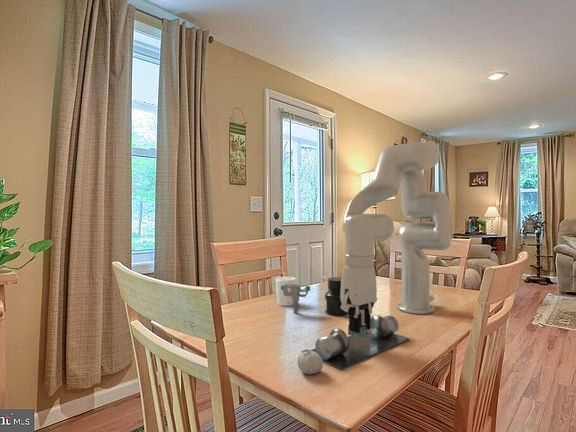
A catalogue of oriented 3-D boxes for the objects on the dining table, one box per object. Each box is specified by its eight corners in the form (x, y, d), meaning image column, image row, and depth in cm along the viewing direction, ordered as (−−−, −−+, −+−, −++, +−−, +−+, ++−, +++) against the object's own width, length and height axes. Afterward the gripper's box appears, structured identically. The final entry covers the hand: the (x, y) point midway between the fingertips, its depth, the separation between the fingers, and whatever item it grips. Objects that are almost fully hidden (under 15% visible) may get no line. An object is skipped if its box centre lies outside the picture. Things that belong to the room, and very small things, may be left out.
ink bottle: (336, 307, 129) (335, 275, 129) (355, 312, 123) (355, 278, 123) (319, 312, 123) (319, 279, 122) (339, 318, 116) (339, 282, 116)
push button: (375, 334, 93) (374, 297, 93) (369, 341, 88) (369, 302, 88) (351, 330, 96) (351, 294, 96) (344, 336, 91) (344, 299, 91)
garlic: (293, 375, 77) (292, 352, 77) (301, 365, 82) (300, 343, 82) (319, 380, 74) (318, 356, 74) (325, 369, 80) (325, 346, 79)
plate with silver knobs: (374, 328, 106) (374, 307, 105) (409, 340, 96) (409, 317, 96) (306, 353, 88) (305, 328, 88) (340, 370, 79) (340, 342, 79)
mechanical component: (309, 315, 120) (309, 286, 120) (280, 313, 122) (280, 285, 122) (310, 312, 123) (310, 284, 123) (282, 311, 125) (282, 283, 125)
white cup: (272, 305, 133) (272, 279, 133) (280, 300, 140) (280, 275, 140) (291, 307, 130) (291, 281, 130) (298, 302, 137) (298, 277, 137)
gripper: (367, 257, 100) (368, 320, 100) (327, 263, 89) (327, 333, 90) (390, 259, 94) (390, 326, 94) (349, 266, 84) (349, 341, 84)
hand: (359, 329), depth 92 cm, fingers closed on push button, 3 cm apart
